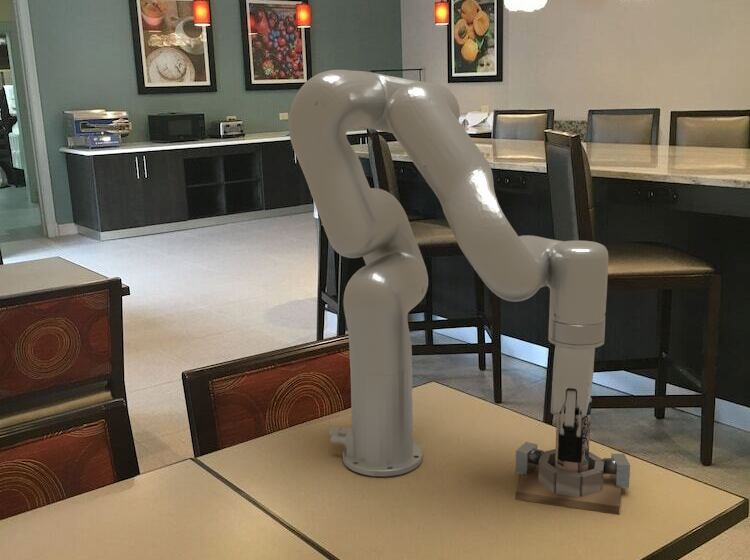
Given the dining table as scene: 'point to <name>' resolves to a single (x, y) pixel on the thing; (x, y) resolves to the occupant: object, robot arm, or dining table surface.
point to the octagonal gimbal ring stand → (570, 486)
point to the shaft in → (527, 458)
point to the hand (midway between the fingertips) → (571, 451)
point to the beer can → (585, 444)
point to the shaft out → (618, 470)
